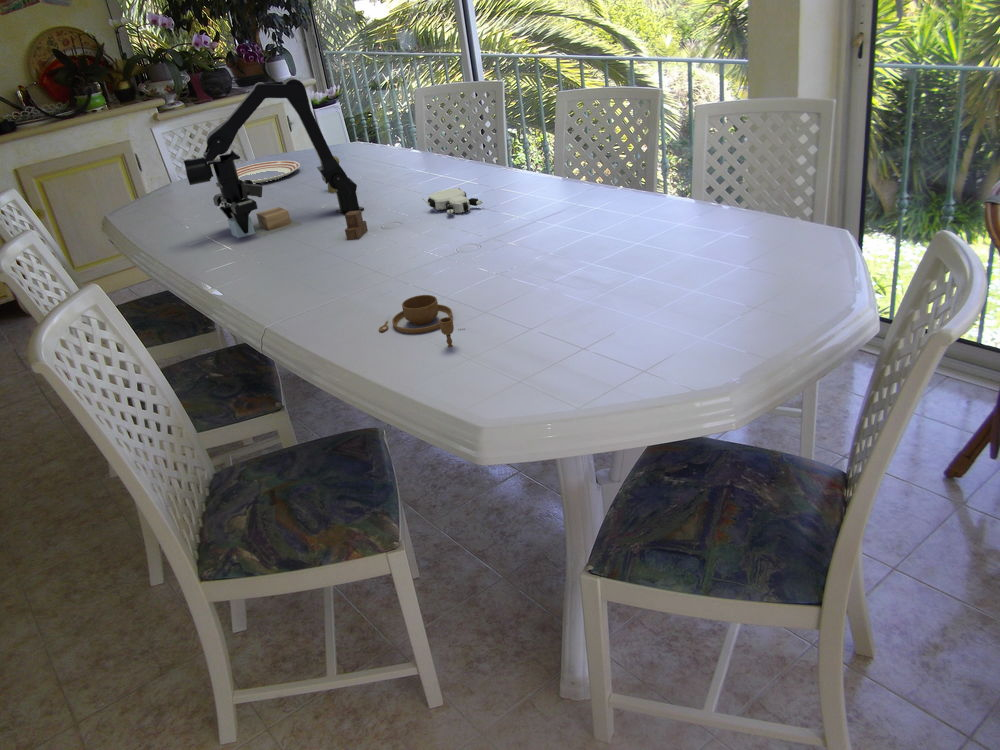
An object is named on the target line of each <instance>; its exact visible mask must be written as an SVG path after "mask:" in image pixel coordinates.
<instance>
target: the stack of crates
mask: <svg viewBox="0 0 1000 750" xmlns="http://www.w3.org/2000/svg"><path fill="white" fill-rule="evenodd" d="M344 219H345V224H346V226H347V228H345V229H344V232H345V237H346V240H347V241H356V240H360V239H362V237H363V236H364V235H365V234H366V233H367V232H368V231H369V230H368V225H367V221H366V220H364V218H363V214H362V210H360V211H349V212H348V213H347V214H346V215H344Z"/></svg>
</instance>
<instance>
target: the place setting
mask: <svg viewBox="0 0 1000 750" xmlns="http://www.w3.org/2000/svg"><path fill="white" fill-rule="evenodd" d="M401 303H402V304H401V307H402V310H401V311H400V312H397V314H396V315H394V316H393V318H392V321H391V322H392V325H393V328H394V329H395V331H398V332H400V333H402V334H411V335H412V334H414V335H415V334H425V333H429V332H434V331H436V330H439V329H440V333H442V334H443V335H444V336H445V337H446V341H445V342H446V344H447V348H453V347H454V345H453V339H452V334H453V332H454V329H455V327H454V320H453V310H452V309H451V308H450V307H449V306H447V305H444V304H438V303H439V302H438V298H437V297H436V296H434V295H430V294H421V295H416V296H411V297H409V298H407V299H405V300H404V301H403V302H401ZM439 312H441V313H445V315H447V316H446V317H442V318H440V319H439V320H438V321H439V322H438V323H436V324H433V325H429V324H431V323H432V322H433V321H434V319H436V317H437V316H438V314H439ZM402 319H406V320H407V322H409V323H412V324H413V325H415V326H418V327H417V328H411V327H410V328H407V327H401V326H398V324H399V322H400V321H401V320H402ZM388 323H389V320H386V321H385V322H384V324H383V325H381V326H380V327H379V328H378V331H379V332H381V333H383V332H386V331H387V330H389V326H388ZM425 325H429V326H425ZM419 326H424V327H419ZM465 329H466V328H465V327H464V328H463V330H465ZM459 330H462V329H461V328H458V331H459Z"/></svg>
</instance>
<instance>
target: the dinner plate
mask: <svg viewBox="0 0 1000 750" xmlns="http://www.w3.org/2000/svg"><path fill="white" fill-rule="evenodd" d="M300 166H301V164H300V163H299V162H297V161H294V160H273V161H271V160H270V161H261V162H258V163H257V162H256V163H252V164H248V165H246V166H241V167H238V168H236V170H237V174H238V177H239V178H240V177H242V176H245V175H250V174H251V175H252V174H256V173H260V172H266V171H278V172H284V173H285V174H281V175H278V176H274V177H270V178H264V179H258V180H251V181H252V183H260V182H266V181H270V180H275V179H278V178H281V179H283V178H282V177H284V176H286V177H288V176H289V175H291V174H292V173H293V172H295V171H297V170H298V169H299V168H300ZM284 178H285V177H284ZM278 180H279V179H278ZM275 181H276V180H275Z"/></svg>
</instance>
